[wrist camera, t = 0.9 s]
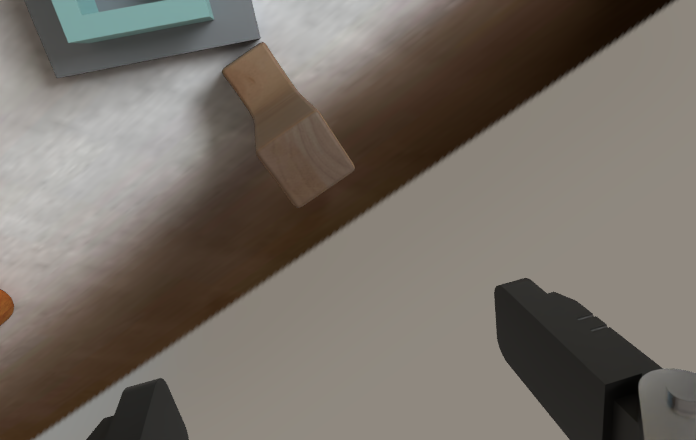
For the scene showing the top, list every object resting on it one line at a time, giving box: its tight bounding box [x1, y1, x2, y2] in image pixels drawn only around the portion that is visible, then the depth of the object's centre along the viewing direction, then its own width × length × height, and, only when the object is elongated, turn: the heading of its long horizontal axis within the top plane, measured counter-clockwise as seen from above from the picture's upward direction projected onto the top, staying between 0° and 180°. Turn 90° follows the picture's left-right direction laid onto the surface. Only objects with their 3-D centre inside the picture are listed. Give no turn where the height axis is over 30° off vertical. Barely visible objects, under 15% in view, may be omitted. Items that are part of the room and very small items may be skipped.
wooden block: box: [222, 42, 355, 208], centre depth 26 cm, size 7×3×15 cm, turn 32°
